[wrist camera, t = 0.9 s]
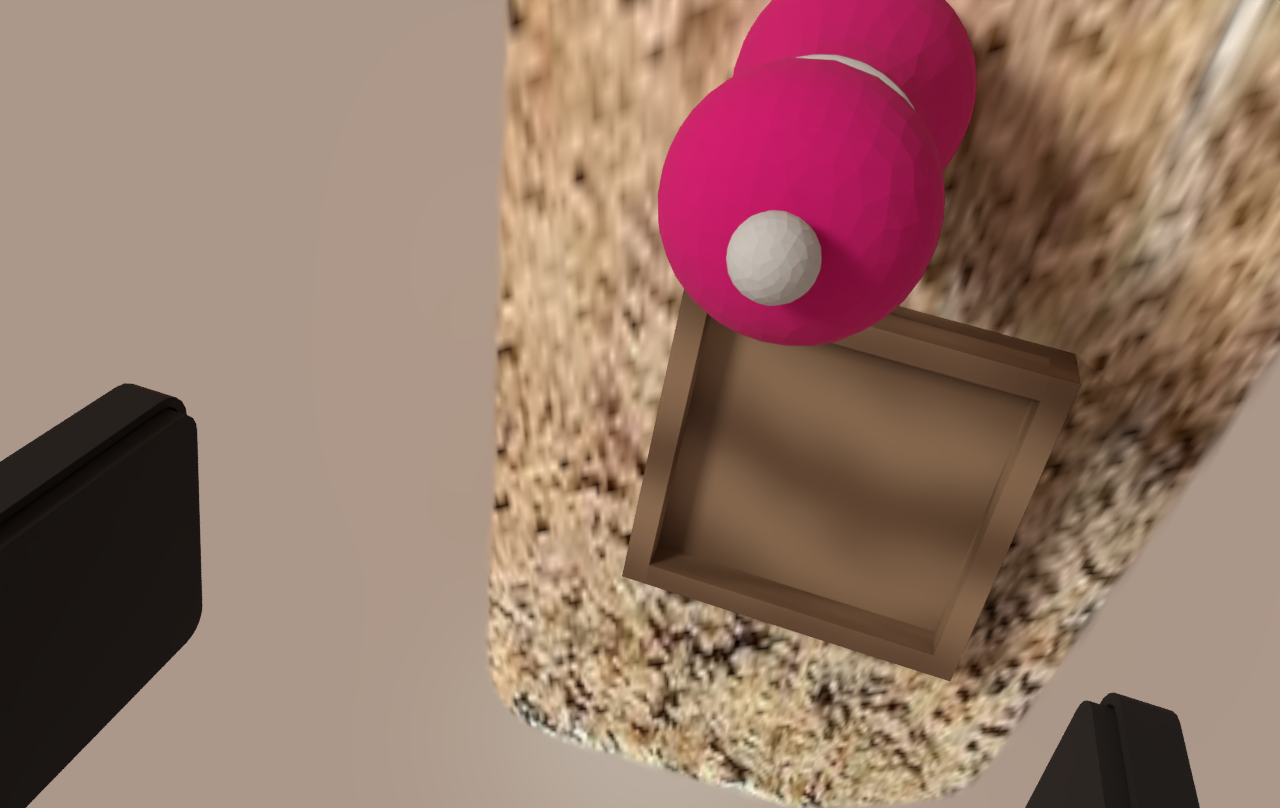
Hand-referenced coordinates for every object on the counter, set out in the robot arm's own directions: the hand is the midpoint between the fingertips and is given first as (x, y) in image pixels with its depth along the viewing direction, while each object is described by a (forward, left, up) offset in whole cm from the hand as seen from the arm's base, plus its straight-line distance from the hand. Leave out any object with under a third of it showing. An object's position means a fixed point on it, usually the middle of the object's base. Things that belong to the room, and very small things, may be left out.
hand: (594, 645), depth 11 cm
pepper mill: (0, 0, -30) cm, 30 cm away
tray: (+15, +3, -30) cm, 34 cm away
